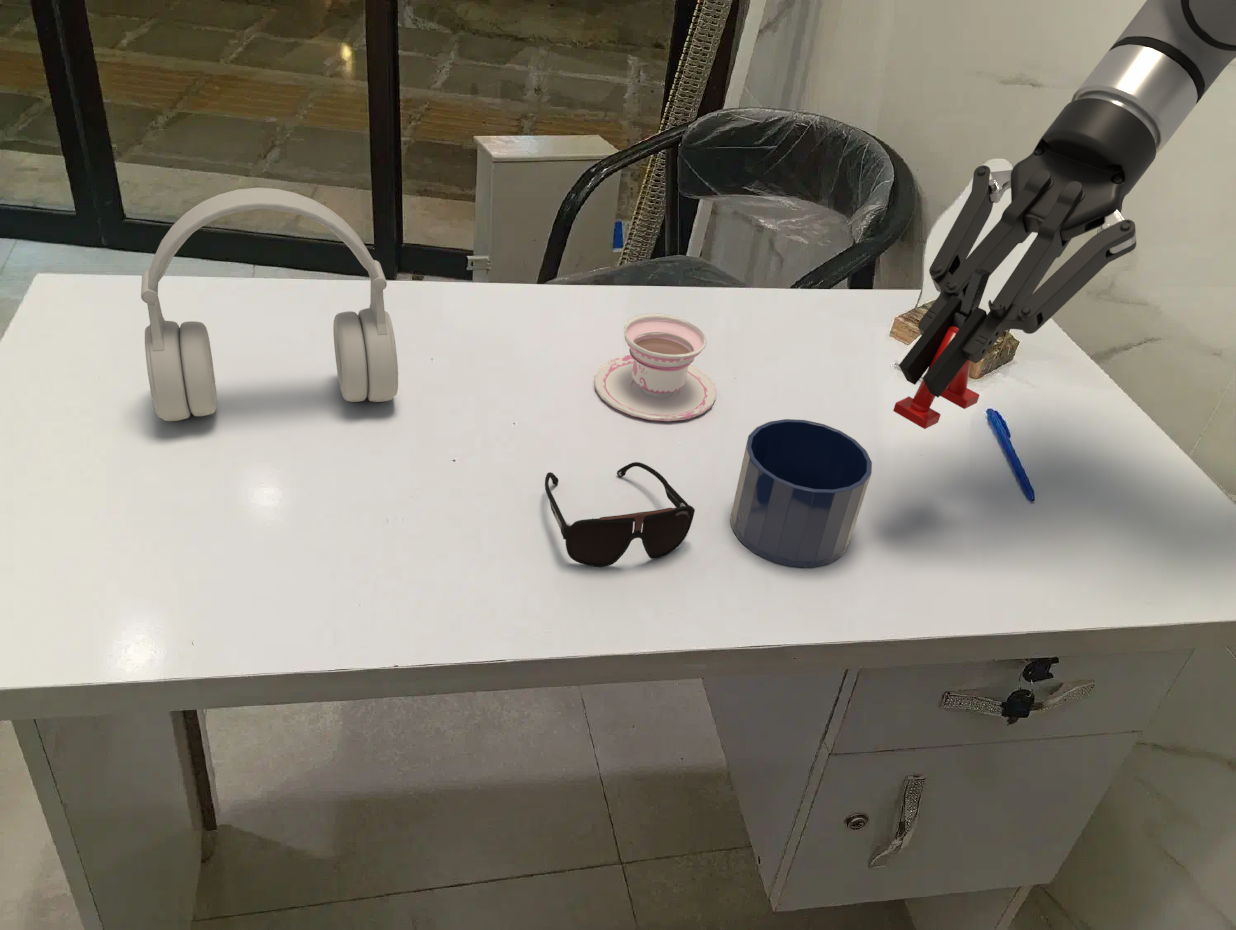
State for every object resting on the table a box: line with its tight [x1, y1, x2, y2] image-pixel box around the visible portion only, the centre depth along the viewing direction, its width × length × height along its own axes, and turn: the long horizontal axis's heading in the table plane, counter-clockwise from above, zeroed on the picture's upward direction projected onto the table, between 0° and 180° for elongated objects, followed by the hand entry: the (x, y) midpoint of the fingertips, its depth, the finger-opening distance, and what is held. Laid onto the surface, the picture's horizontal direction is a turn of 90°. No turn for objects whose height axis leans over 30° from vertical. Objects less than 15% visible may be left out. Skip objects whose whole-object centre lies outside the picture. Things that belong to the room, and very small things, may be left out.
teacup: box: [594, 312, 717, 422], centre depth 96 cm, size 12×12×6 cm
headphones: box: [140, 187, 399, 422], centre depth 83 cm, size 20×8×19 cm, turn 109°
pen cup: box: [730, 418, 873, 568], centre depth 80 cm, size 10×10×8 cm
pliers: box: [892, 269, 991, 430], centre depth 75 cm, size 3×7×12 cm, turn 131°
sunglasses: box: [544, 461, 696, 568], centre depth 79 cm, size 10×12×5 cm
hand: (919, 381), depth 74 cm, fingers closed on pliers, 1 cm apart
